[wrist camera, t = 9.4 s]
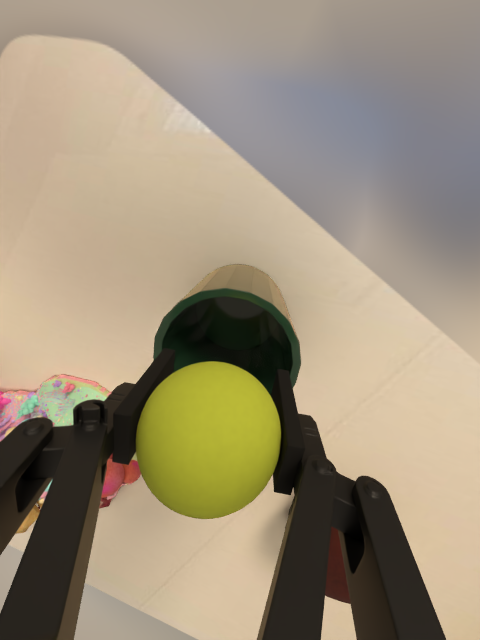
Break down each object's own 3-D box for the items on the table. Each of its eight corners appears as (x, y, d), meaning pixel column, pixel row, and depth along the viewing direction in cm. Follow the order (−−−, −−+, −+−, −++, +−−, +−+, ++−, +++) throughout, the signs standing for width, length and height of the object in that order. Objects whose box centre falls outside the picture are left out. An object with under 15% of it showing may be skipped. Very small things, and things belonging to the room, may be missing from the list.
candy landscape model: (91, 523, 46) (51, 592, 37) (-39, 446, 42) (-116, 503, 33) (176, 436, 39) (153, 496, 30) (30, 334, 35) (-45, 370, 26)
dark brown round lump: (299, 468, 39) (313, 548, 30) (379, 499, 40) (418, 587, 31) (267, 516, 43) (270, 602, 33) (341, 544, 44) (365, 635, 34)
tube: (198, 256, 30) (158, 275, 18) (293, 273, 30) (317, 304, 18) (188, 342, 34) (149, 408, 22) (273, 358, 34) (282, 432, 22)
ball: (169, 330, 15) (104, 404, 9) (288, 352, 15) (309, 442, 9) (160, 427, 18) (103, 542, 11) (264, 446, 17) (267, 572, 11)
